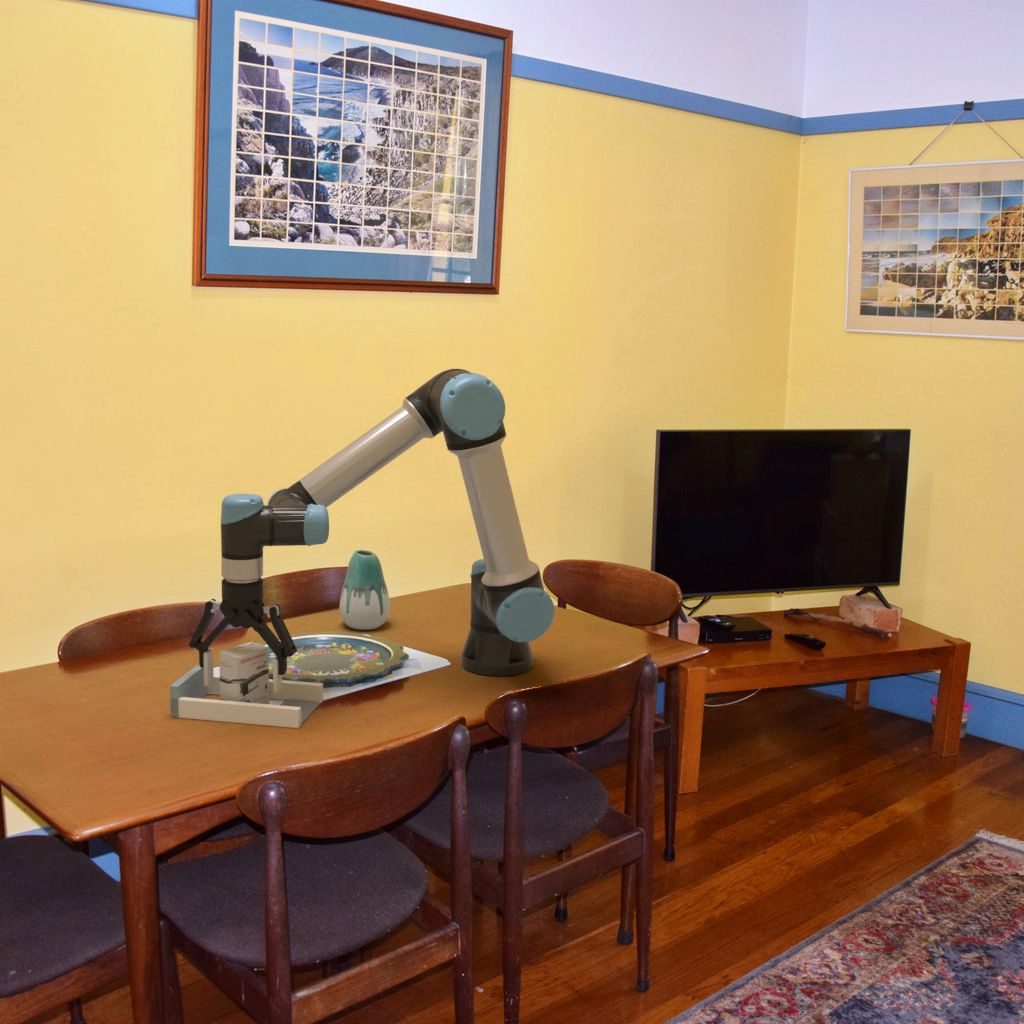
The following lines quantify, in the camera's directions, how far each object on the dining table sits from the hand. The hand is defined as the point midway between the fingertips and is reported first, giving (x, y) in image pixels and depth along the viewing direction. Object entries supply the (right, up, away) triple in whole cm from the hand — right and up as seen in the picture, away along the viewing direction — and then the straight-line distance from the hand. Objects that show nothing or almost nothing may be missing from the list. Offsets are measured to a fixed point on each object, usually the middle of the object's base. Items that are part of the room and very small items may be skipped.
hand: (243, 687), depth 227 cm
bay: (+1, -4, +1) cm, 4 cm away
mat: (+10, -5, -1) cm, 11 cm away
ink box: (0, -4, +1) cm, 4 cm away
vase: (+16, +6, +54) cm, 57 cm away
